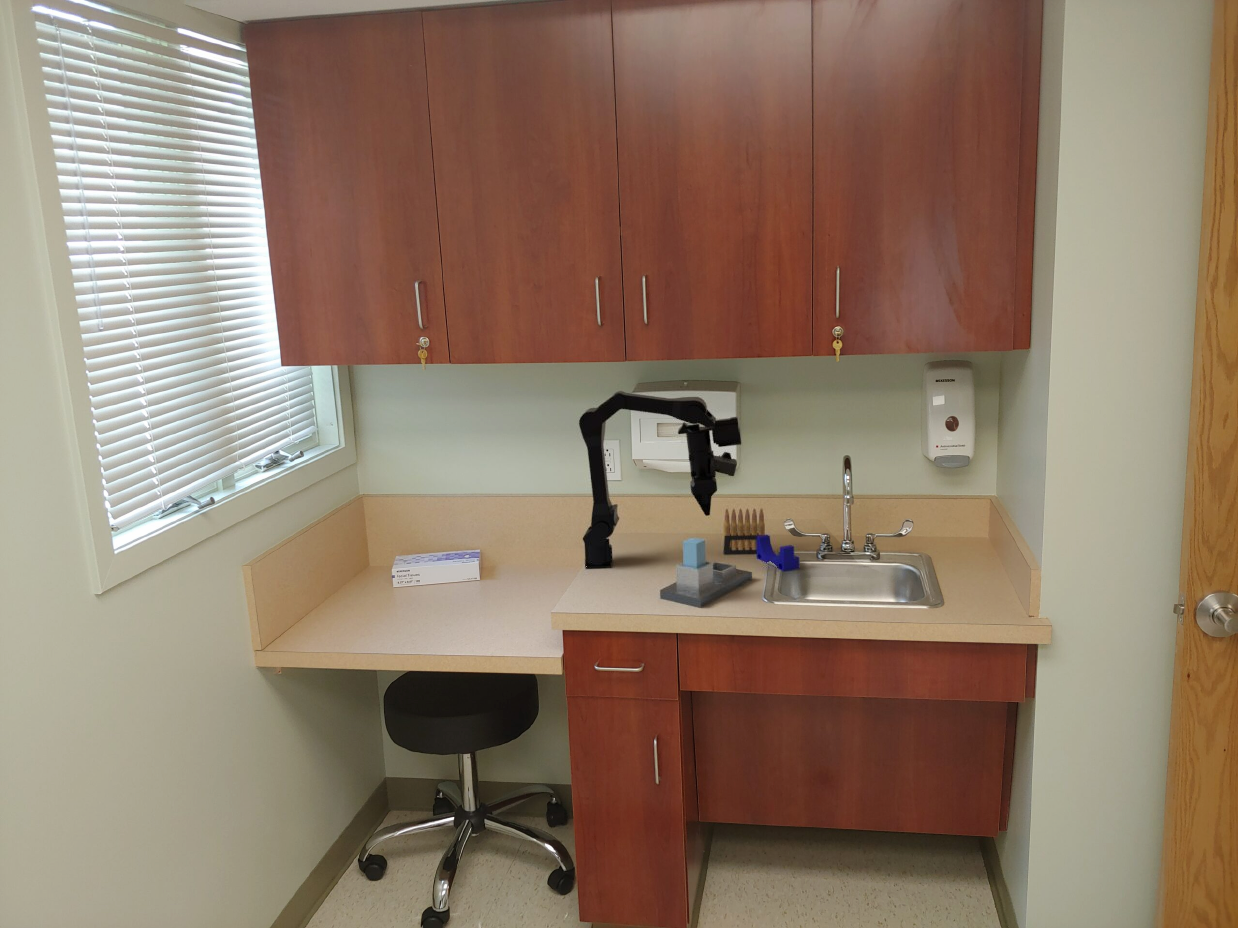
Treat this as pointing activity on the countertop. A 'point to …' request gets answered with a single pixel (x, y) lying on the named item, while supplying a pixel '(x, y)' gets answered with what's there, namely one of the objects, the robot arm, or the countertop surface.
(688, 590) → the grey peg holder base
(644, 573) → the countertop surface
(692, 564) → the plug
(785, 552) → the cable clip
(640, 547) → the countertop surface
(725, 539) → the ammunition clip
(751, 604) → the countertop surface
